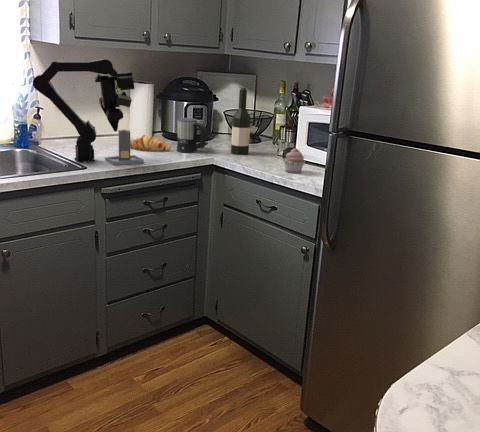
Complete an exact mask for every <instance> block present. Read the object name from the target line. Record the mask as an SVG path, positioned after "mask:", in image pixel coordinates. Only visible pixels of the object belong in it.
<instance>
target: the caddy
mask: <svg viewBox="0 0 480 432" xmlns="http://www.w3.org/2000/svg"><path fill="white" fill-rule="evenodd" d="M117 131H118V135H117V136H118V156H119V161H126V160H130V155H131V147H130V140H131V130H130V129H129V130H127V129H121V130H120V129H119V130H118V129H117Z"/></svg>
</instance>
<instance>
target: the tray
mask: <svg viewBox="0 0 480 432" xmlns="http://www.w3.org/2000/svg"><path fill="white" fill-rule="evenodd" d="M104 161H105V162H107V163H109V164H111V165H112V166H123V165H136V164H144V163H145V159H144V158H141V157H139V156H137V155H136V154H130V160H126V161H119V155H118V156H105V159H104Z"/></svg>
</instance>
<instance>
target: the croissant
mask: <svg viewBox="0 0 480 432" xmlns="http://www.w3.org/2000/svg"><path fill="white" fill-rule="evenodd" d="M171 148H172V146H171V145H169V144H168V143H167V142H163V141H162V140H161V139H160V138H154V137H153V136H152V135H151V136H150V135H146V134H143V135H141V137H137V138H136V139H130V149H134V150H137V151H143V152H144V151H145V152H162V151H170V150H171Z"/></svg>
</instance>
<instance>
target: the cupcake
mask: <svg viewBox="0 0 480 432" xmlns="http://www.w3.org/2000/svg"><path fill="white" fill-rule="evenodd" d="M304 159H305V158H304V156H303V154H302V152H301V151H300V150H299V149H298V148H296V147H295V148H293V149H291V150H290V152H287V153H286V155H285V158H283V159H282V162H283V164H284V168H285V172H286V173H290V174H300V173H301V172H302V169H303V166H304V165H305V162H306V160H304Z"/></svg>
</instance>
